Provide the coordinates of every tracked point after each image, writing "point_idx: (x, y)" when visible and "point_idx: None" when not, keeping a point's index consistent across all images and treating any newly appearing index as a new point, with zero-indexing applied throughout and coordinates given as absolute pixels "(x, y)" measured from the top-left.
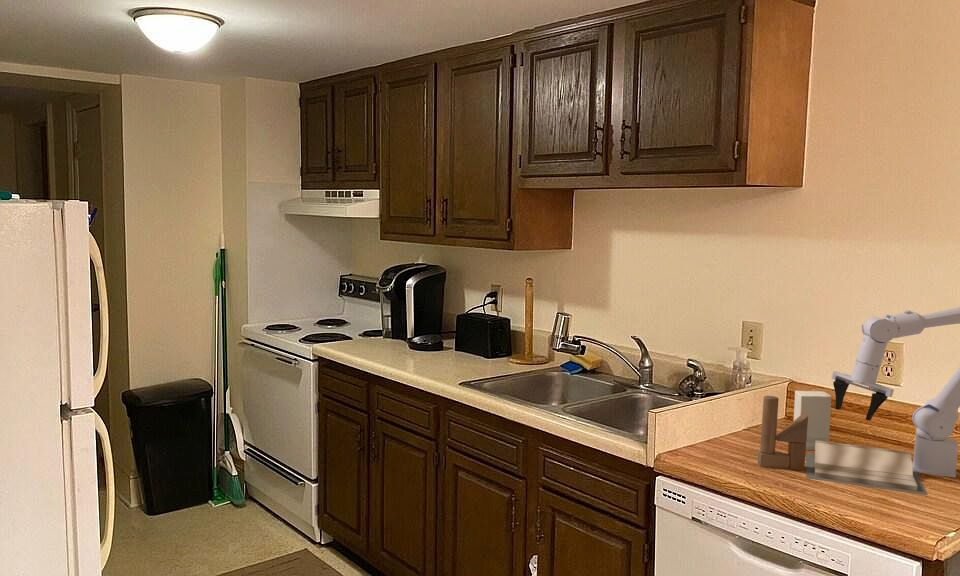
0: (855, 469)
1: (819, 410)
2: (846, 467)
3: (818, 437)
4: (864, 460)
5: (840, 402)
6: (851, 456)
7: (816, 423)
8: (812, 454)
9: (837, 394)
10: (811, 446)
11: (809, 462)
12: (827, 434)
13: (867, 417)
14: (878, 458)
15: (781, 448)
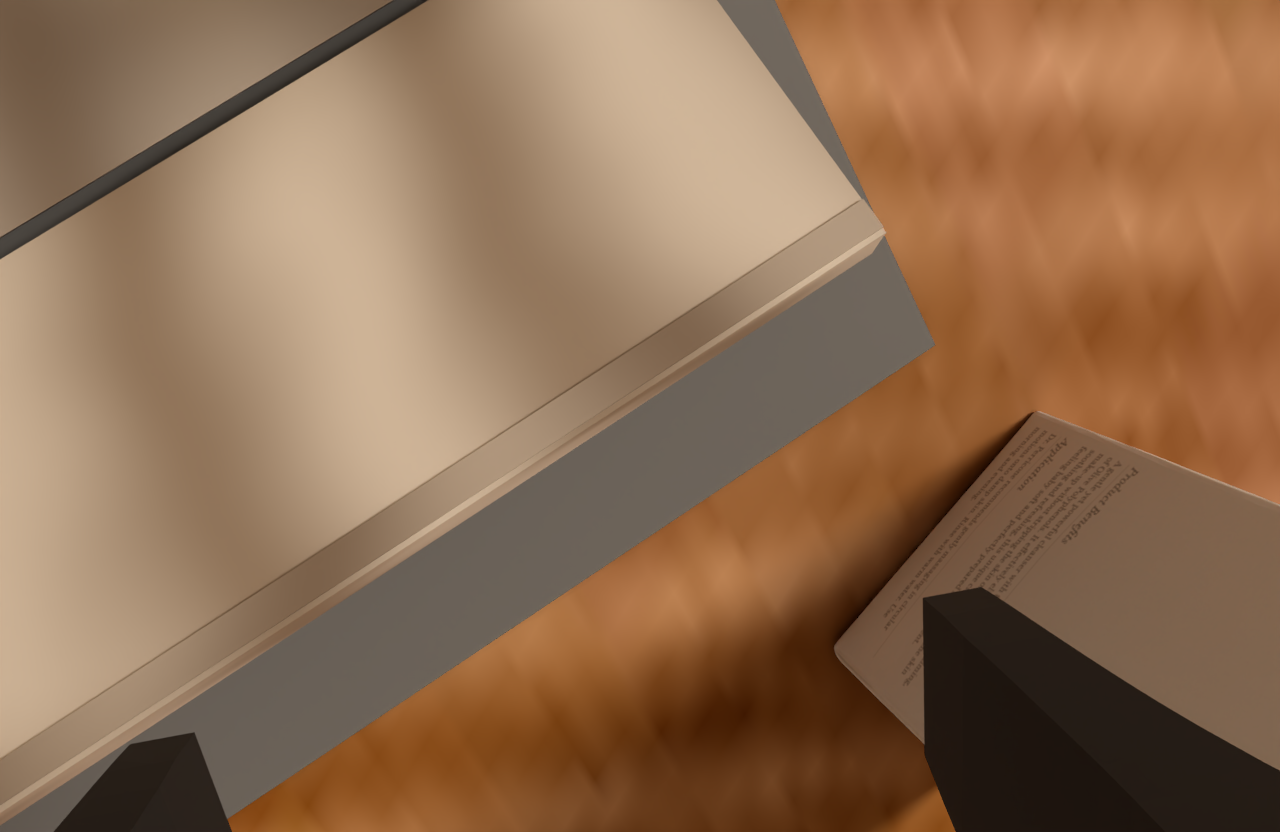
0: (140, 85)
1: None
2: (267, 62)
3: None
4: (165, 358)
5: (1017, 802)
6: (339, 302)
7: (1136, 677)
8: (875, 375)
9: (1275, 821)
10: (975, 519)
11: (750, 38)
12: None
13: (135, 777)
14: (36, 529)
15: (1174, 304)
